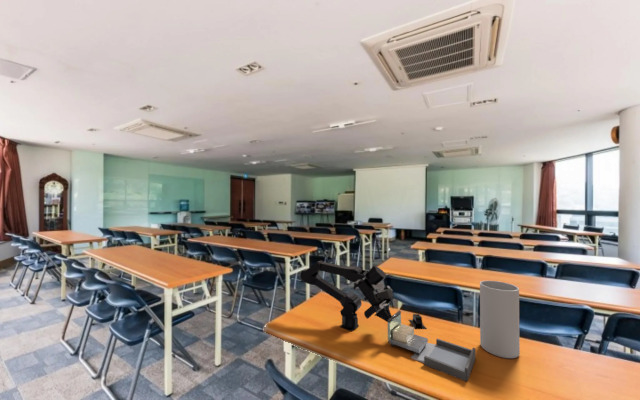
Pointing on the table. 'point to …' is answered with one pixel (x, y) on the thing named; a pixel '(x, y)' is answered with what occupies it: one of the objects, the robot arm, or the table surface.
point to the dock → (448, 358)
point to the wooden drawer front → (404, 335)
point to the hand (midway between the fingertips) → (393, 323)
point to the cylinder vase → (499, 318)
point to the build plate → (417, 322)
